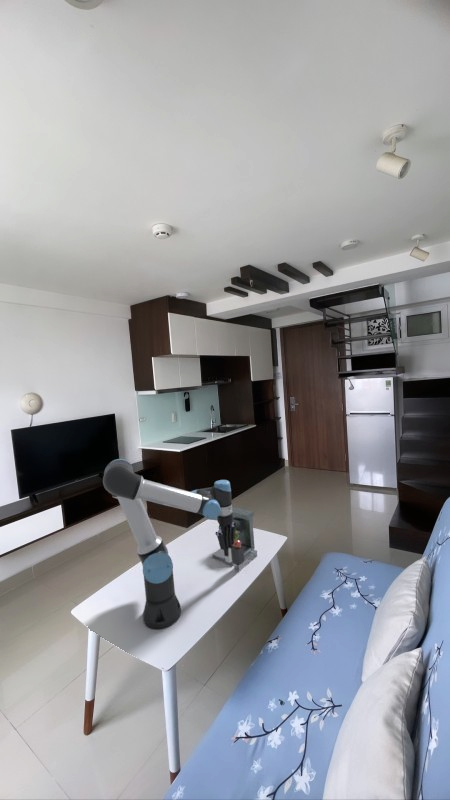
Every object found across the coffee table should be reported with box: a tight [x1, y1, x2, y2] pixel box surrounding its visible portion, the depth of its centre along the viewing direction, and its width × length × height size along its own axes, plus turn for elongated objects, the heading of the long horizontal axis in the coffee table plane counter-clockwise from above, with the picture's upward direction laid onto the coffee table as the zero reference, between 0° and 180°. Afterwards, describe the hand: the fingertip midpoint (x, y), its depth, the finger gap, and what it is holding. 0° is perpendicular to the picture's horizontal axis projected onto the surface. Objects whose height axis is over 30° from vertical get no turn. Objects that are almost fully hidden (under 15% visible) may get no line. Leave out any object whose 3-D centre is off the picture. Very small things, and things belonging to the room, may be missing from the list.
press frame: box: [211, 506, 258, 572], centre depth 171 cm, size 23×20×20 cm
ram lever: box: [232, 540, 244, 565], centre depth 159 cm, size 4×4×11 cm
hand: (228, 561), depth 153 cm, fingers closed
